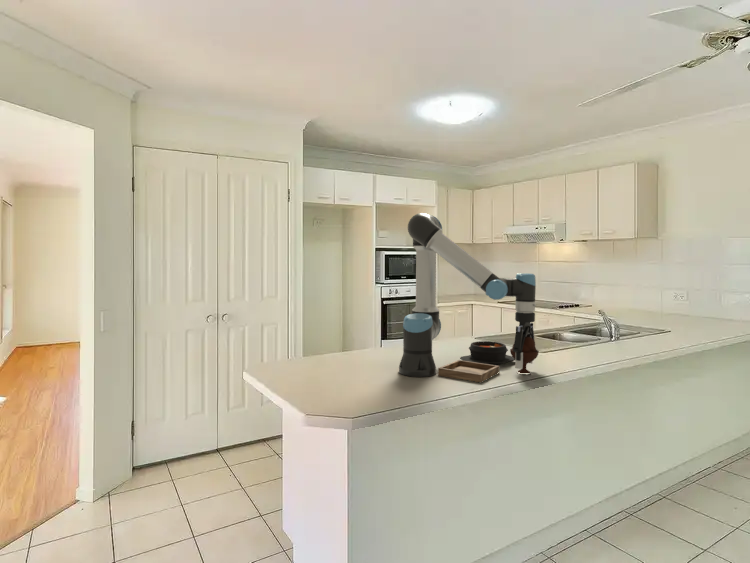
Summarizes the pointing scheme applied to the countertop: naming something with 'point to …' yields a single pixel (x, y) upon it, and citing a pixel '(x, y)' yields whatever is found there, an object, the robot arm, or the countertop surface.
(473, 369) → the walnut tray
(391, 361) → the countertop surface
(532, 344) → the ice cream bowl
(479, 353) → the casserole
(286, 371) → the countertop surface
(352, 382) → the countertop surface
